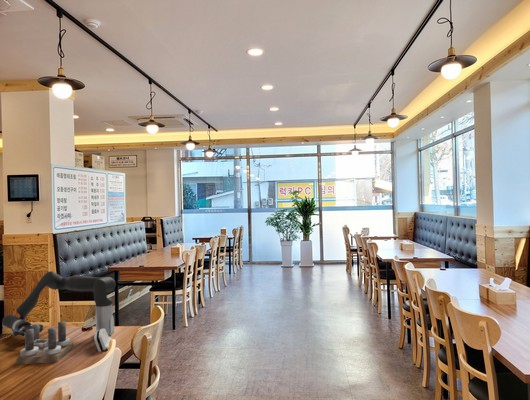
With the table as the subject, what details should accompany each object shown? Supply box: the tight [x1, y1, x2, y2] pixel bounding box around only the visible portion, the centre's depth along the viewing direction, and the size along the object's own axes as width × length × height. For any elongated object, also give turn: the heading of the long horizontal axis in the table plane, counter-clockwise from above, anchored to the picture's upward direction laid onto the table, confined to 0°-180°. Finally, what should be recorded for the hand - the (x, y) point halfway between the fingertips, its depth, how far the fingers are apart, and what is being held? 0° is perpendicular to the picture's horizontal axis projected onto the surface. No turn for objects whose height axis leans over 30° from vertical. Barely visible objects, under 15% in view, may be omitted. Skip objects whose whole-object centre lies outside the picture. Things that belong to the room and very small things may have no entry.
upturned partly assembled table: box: [15, 320, 74, 365], centre depth 194 cm, size 19×19×15 cm
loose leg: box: [31, 323, 41, 341], centre depth 207 cm, size 4×4×12 cm
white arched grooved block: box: [93, 328, 113, 353], centre depth 205 cm, size 17×5×10 cm, turn 16°
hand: (32, 332), depth 210 cm, fingers open, 8 cm apart
